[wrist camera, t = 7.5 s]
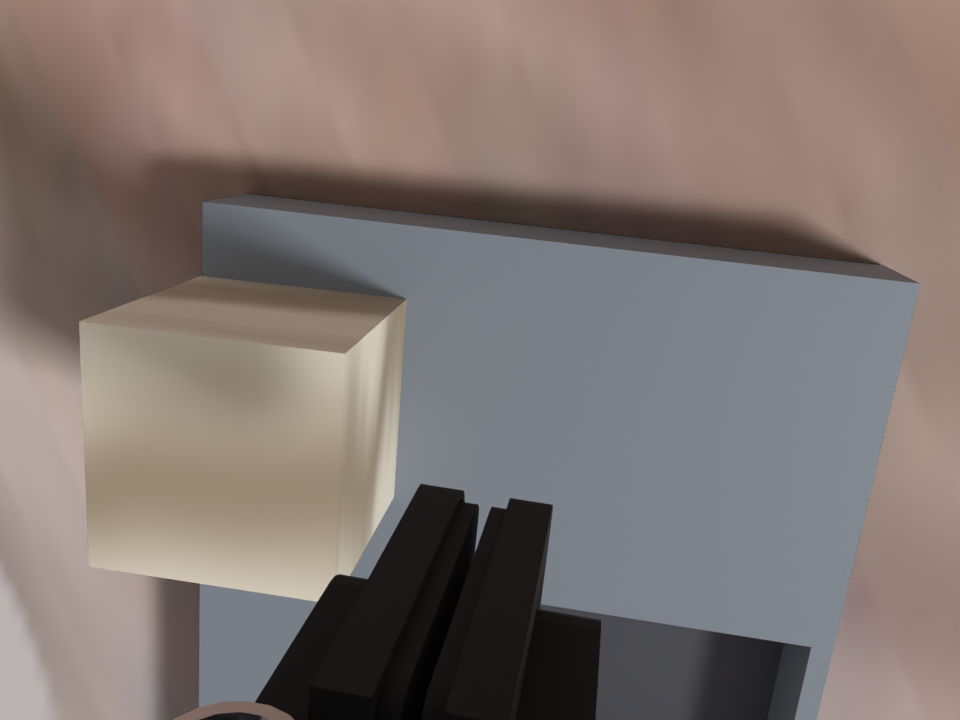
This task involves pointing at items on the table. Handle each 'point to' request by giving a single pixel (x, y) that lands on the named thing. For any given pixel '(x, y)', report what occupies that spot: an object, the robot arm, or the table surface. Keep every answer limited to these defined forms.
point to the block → (240, 432)
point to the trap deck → (611, 435)
